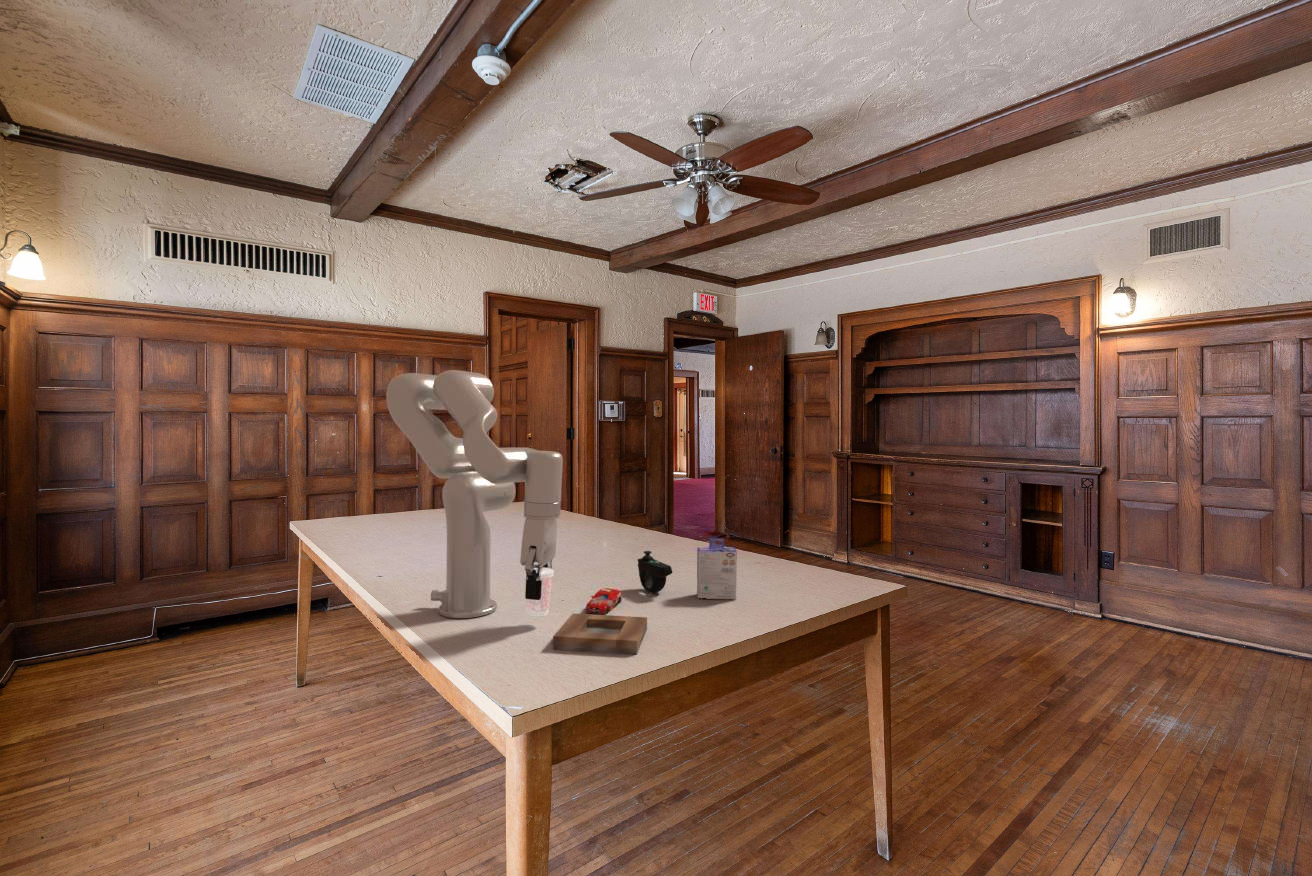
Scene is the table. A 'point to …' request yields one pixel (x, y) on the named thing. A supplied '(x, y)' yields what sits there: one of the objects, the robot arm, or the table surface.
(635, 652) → the brown wooden square frame
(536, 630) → the table surface
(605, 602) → the race car
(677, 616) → the table surface
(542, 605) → the beverage cup
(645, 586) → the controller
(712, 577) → the ink cartridge box
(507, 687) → the table surface
